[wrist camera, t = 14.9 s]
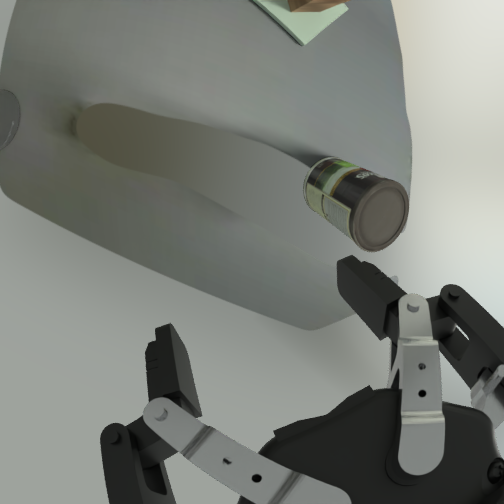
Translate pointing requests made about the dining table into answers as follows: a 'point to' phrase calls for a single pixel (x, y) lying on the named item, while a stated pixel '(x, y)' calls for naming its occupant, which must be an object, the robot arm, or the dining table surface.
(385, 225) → the coffee can
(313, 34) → the rubber mat
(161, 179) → the dining table surface
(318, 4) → the walnut block
